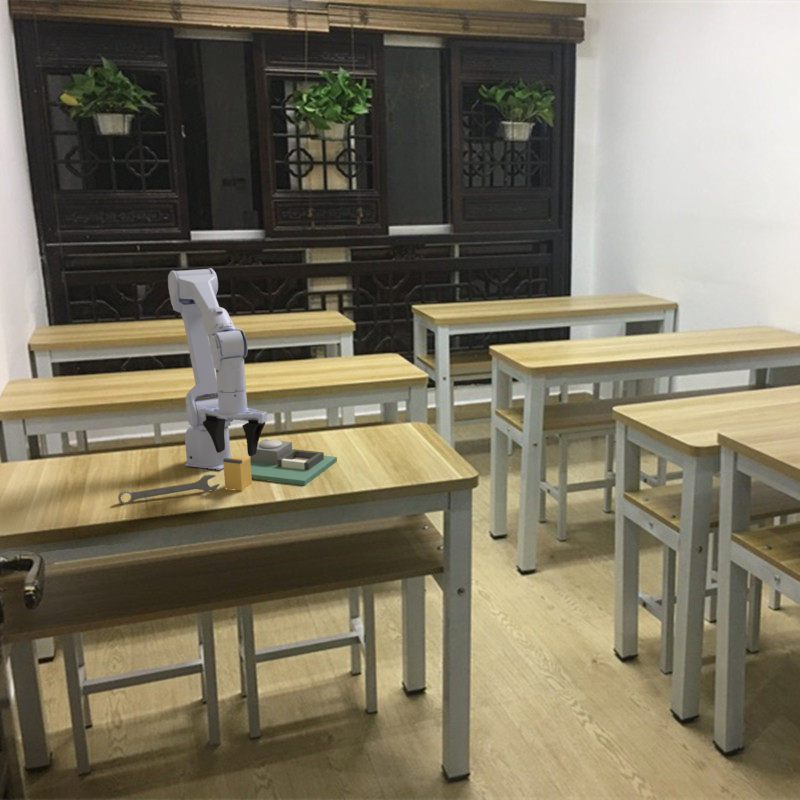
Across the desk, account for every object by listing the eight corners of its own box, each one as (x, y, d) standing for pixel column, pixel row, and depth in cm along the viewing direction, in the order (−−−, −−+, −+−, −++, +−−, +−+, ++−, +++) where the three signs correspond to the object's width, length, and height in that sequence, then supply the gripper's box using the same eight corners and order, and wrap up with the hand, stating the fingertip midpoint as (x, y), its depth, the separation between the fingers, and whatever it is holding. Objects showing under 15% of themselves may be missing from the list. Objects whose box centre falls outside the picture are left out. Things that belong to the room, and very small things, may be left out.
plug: (225, 489, 166) (223, 459, 164) (235, 482, 169) (233, 453, 168) (242, 491, 164) (239, 461, 163) (252, 484, 168) (250, 455, 166)
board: (231, 476, 173) (229, 456, 172) (267, 453, 187) (266, 435, 186) (305, 485, 167) (304, 465, 166) (336, 461, 181) (336, 442, 180)
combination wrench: (117, 491, 157) (218, 474, 164) (116, 488, 158) (218, 472, 165) (119, 508, 158) (220, 491, 165) (119, 506, 159) (219, 489, 166)
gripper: (189, 391, 160) (195, 455, 164) (252, 396, 155) (257, 462, 159) (209, 383, 167) (214, 445, 170) (270, 388, 162) (274, 451, 165)
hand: (236, 452), depth 165 cm, fingers open, 7 cm apart
